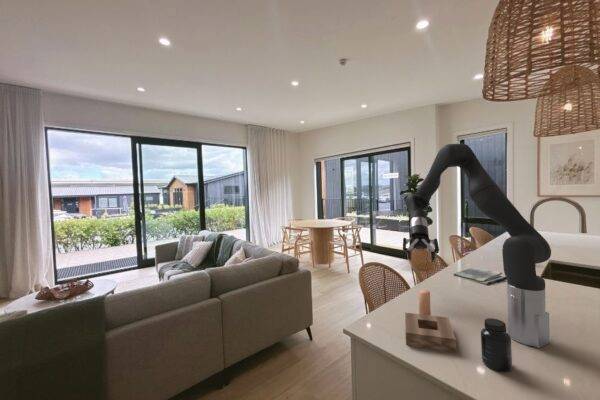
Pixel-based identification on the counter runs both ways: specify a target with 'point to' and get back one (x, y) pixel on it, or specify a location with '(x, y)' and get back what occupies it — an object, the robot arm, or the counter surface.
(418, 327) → the socket block
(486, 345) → the supplement bottle
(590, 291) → the counter surface
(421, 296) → the pin
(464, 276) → the dish towel
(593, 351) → the counter surface
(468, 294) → the counter surface
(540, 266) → the counter surface
